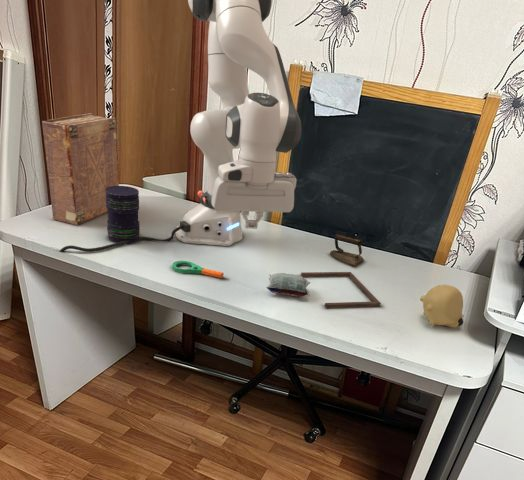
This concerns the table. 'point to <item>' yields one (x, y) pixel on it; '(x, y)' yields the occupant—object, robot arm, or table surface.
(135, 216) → the dark blue cylinder
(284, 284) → the packaged food
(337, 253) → the clothes iron
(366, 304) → the bay
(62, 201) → the book
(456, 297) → the toy pig
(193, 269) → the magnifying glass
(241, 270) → the table surface
